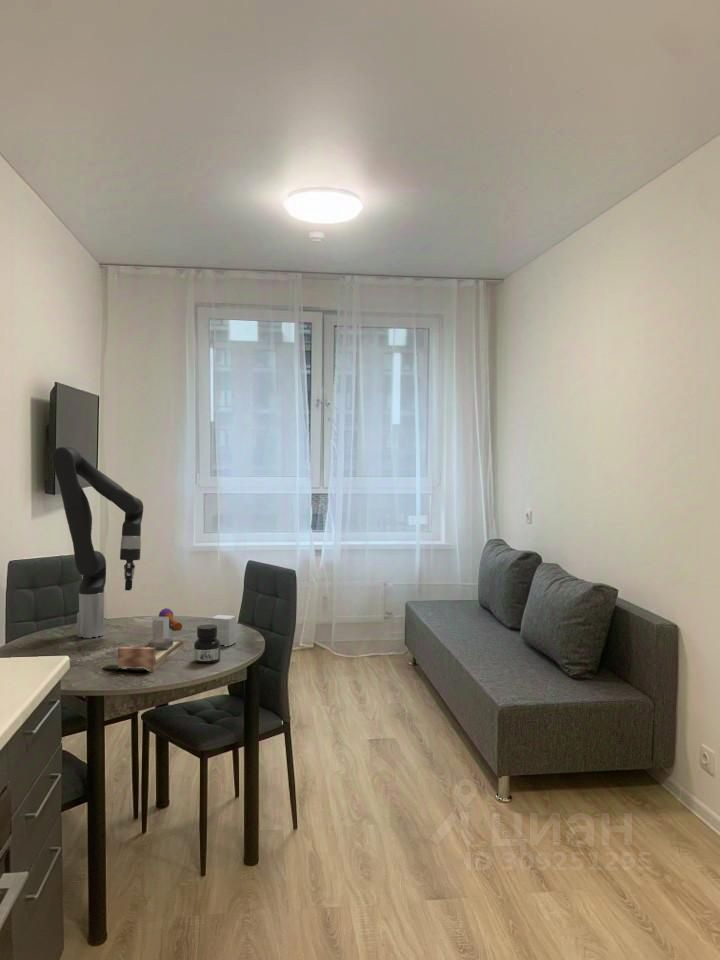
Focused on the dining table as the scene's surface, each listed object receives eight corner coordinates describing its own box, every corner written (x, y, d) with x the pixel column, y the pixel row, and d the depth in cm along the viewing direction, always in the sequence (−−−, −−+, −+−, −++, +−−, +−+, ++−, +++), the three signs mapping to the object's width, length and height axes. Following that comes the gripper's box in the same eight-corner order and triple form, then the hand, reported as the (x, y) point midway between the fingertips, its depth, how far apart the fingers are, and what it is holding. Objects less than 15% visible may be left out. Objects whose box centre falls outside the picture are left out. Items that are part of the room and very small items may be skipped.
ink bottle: (190, 664, 245) (190, 629, 245) (196, 657, 254) (195, 623, 254) (218, 664, 245) (218, 629, 245) (223, 657, 254) (223, 623, 254)
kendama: (169, 622, 291) (156, 609, 308) (172, 635, 292) (158, 622, 309) (183, 617, 294) (169, 605, 311) (186, 631, 295) (172, 618, 312)
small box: (236, 643, 273) (236, 615, 273) (229, 647, 268) (229, 619, 267) (218, 641, 276) (218, 614, 275) (210, 645, 270) (210, 617, 270)
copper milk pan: (118, 670, 238) (117, 648, 237) (152, 645, 269) (152, 625, 269) (153, 671, 237) (153, 649, 236) (184, 646, 269) (184, 626, 268)
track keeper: (148, 648, 258) (148, 620, 258) (154, 644, 264) (154, 616, 264) (167, 649, 258) (167, 620, 257) (173, 644, 264) (173, 616, 263)
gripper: (121, 547, 286) (119, 589, 284) (119, 547, 273) (117, 590, 271) (141, 548, 288) (139, 589, 286) (140, 547, 275) (137, 590, 273)
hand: (128, 589), depth 279 cm, fingers open, 8 cm apart
